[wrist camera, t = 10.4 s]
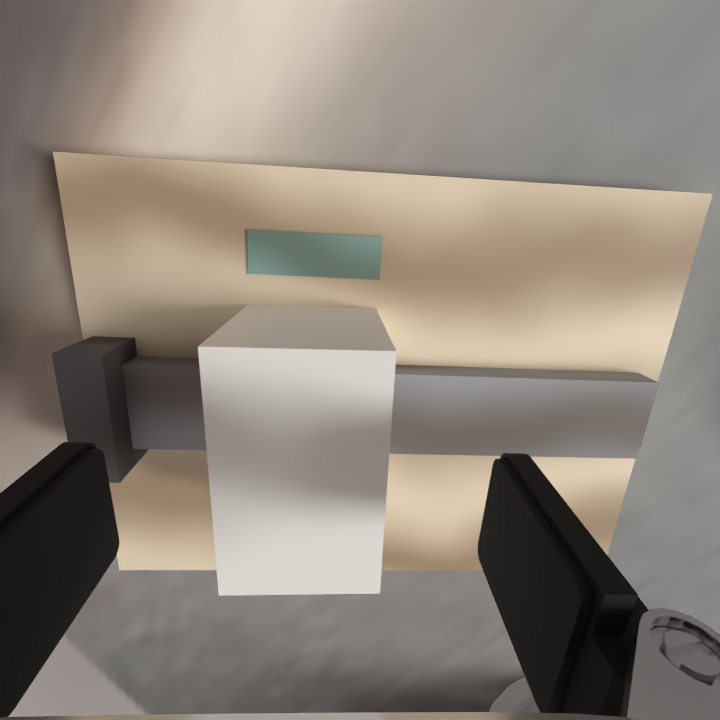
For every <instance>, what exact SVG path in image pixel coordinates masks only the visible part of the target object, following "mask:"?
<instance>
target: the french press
mask: <svg viewBox="0 0 720 720" xmlns="http://www.w3.org/2000/svg"><path fill="white" fill-rule="evenodd" d="M489 712H510V713H541V712H540V711H539V709H538V707H537V705H536V703H535V700H534V698H533V695H532V692H531V690H530V687H529V685H528V682H527V680H526V677H525V676H524V677H523V678H521V679H519V680H517V681H516V682H514V683H512V684H510V685H509V686H508V687H507V688H506V689H505V690H504V691H503V692H502V694H501V695H500V696H499V697H498V698H497V699H496V700H495V701H494V702H493V703H492V705H491V707H490V710H489Z"/></svg>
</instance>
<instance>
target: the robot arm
mask: <svg viewBox="0 0 720 720" xmlns="http://www.w3.org/2000/svg"><path fill="white" fill-rule="evenodd" d="M118 549H119V535H118V529H117V524H116V518H115V513H114V507H113V501H112V496H111V490H110V485H109V479H108V473H107V468H106V462H105V457H104V453H103V451H102V450H100V449H97V447H96V445H95V444H93V443H84V442H64V443H62V444H61V445H59V446H58V447H57V448H56V449H54V450H53V451H52V452H51V453H49V454H48V455H47V456H46V457H45V458H43V459H42V460H41V461H40V462H38V463H37V464H36V465H35V466H33V467H32V468H31V469H30V470H28V471H27V472H26V473H25V474H24V475H22V476H21V477H20V478H19V479H17V480H16V481H15V482H14V483H12V484H11V485H10V486H9V487H8V488H6V489H5V490H4V491H3V492H1V493H0V720H720V635H719V634H718V633H717V632H716V631H714V630H713V629H712V628H710V627H709V626H707V625H705V624H704V623H702V622H700V621H698V620H697V619H695V618H693V617H691V616H688V615H686V614H683V613H681V612H678V611H674V610H669V609H664V608H659V609H651V610H648V609H647V608H646V606H645V605H644V604H643V602H642V601H641V600H640V599H639V597H638V594H637V593H636V592H635V590H634V589H633V588H632V587H631V585H630V584H629V583H628V581H627V580H626V579H625V578H624V576H623V575H622V574H621V572H620V571H619V570H618V569H617V567H616V566H615V565H614V563H613V562H612V561H611V560H610V558H609V557H608V556H607V554H606V553H605V552H604V551H603V549H602V548H601V547H600V545H599V544H598V543H597V542H596V540H595V539H594V538H593V536H592V535H591V534H590V533H589V531H588V530H587V529H586V527H585V526H584V525H583V524H582V522H581V521H580V520H579V518H578V517H577V516H576V515H575V513H574V512H573V511H572V509H571V508H570V507H569V506H568V504H567V503H566V502H565V500H564V499H563V498H562V497H561V495H560V494H559V493H558V491H557V490H556V489H555V488H554V486H553V485H552V484H551V482H550V481H549V480H548V479H547V477H546V476H545V475H544V473H543V472H542V471H541V470H540V468H539V467H538V466H537V465H536V463H535V462H534V461H533V459H532V458H531V457H530V456H529V455H528V454H523V453H503V454H502V455H501V457H500V459H495V460H494V462H493V466H492V471H491V477H490V482H489V487H488V493H487V498H486V503H485V509H484V514H483V519H482V525H481V530H480V535H479V540H478V557H479V561H480V564H481V566H482V569H483V571H484V574H485V576H486V579H487V581H488V584H489V586H490V589H491V591H492V594H493V596H494V599H495V602H496V604H497V607H498V609H499V612H500V614H501V617H502V619H503V622H504V624H505V627H506V629H507V632H508V634H509V637H510V639H511V642H512V644H513V647H514V650H515V652H516V655H517V657H518V660H519V662H520V665H521V667H522V670H523V672H524V675H525V677H526V680H527V682H528V685H529V687H530V690H531V692H532V695H533V698H534V700H535V703H536V705H537V707H538V709H539V711H540V712H541V713H510V712H385V713H256V714H168V715H103V716H49V717H48V716H47V717H46V716H45V717H8V716H9V715H10V714H11V713H12V711H13V710H14V709H15V707H16V706H17V704H18V703H19V701H20V699H21V698H22V697H23V695H24V694H25V692H26V690H27V689H28V688H29V686H30V685H31V683H32V682H33V680H34V678H35V677H36V675H37V674H38V673H39V671H40V670H41V668H42V667H43V665H44V663H45V662H46V661H47V659H48V658H49V656H50V655H51V653H52V652H53V650H54V649H55V647H56V645H57V644H58V643H59V641H60V640H61V638H62V637H63V635H64V634H65V632H66V631H67V629H68V628H69V626H70V625H71V623H72V622H73V620H74V619H75V617H76V616H77V614H78V613H79V611H80V609H81V608H82V606H83V605H84V603H85V602H86V600H87V599H88V597H89V596H90V594H91V593H92V591H93V590H94V588H95V587H96V585H97V584H98V582H99V581H100V579H101V578H102V576H103V575H104V573H105V572H106V570H107V569H108V567H109V566H110V564H111V563H112V561H113V560H114V558H115V557H116V555H117V552H118Z"/></svg>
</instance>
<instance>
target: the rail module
mask: <svg viewBox="0 0 720 720" xmlns="http://www.w3.org/2000/svg"><path fill="white" fill-rule="evenodd" d="M396 352H397V351H396V349H395V347H394V345H393V343H392V341H391V339H390V337H389V334H388V332H387V330H386V328H385V326H384V324H383V322H382V320H381V318H380V316H379V314H378V311H377V309H376V308H352V307H318V306H284V305H250V304H248V305H247V306H246V307H245V308H243V309H242V310H241V311H240V312H239V313H237V314H236V315H235V316H234V317H233V318H231V319H230V320H229V321H228V322H227V323H225V324H224V325H223V326H222V327H221V328H219V329H218V330H217V331H216V332H215V333H213V334H212V335H211V336H210V337H209V338H207V339H206V340H205V341H204V342H203V343H201V344H200V345H199V346H198V355H199V367H200V379H201V391H202V403H203V414H204V426H205V438H206V450H207V461H208V473H209V485H210V497H211V509H212V520H213V532H214V544H215V556H216V568H217V579H218V591H219V595H296V594H372V593H380V583H381V568H382V554H383V539H384V525H385V511H386V496H387V482H388V467H389V453H390V438H391V424H392V409H393V395H394V380H395V366H396Z"/></svg>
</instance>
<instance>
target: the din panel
mask: <svg viewBox="0 0 720 720" xmlns="http://www.w3.org/2000/svg"><path fill="white" fill-rule="evenodd" d="M53 156H54V162H55V168H56V174H57V181H58V187H59V193H60V200H61V206H62V212H63V218H64V225H65V231H66V237H67V244H68V250H69V256H70V262H71V269H72V275H73V281H74V288H75V294H76V300H77V306H78V313H79V319H80V325H81V332H82V338H83V341H81V342H78V343H76V344H74V345H71V346H69V347H67V348H64V349H62V350H60V351H58V352H55V353H53V354H52V358H53V363H54V368H55V374H56V379H57V385H58V390H59V396H60V401H61V406H62V412H63V417H64V423H65V428H66V433H67V439H68V442H84V443H93V444H95V445H96V447H97V449H100V450H102V451H103V453H104V457H105V462H106V468H107V473H108V479H109V485H110V490H111V496H112V501H113V507H114V513H115V518H116V524H117V529H118V535H119V549H118V552H117V558H118V564H119V570H217V568H216V556H215V544H214V532H213V520H212V509H211V497H210V485H209V473H208V461H207V450H206V438H205V426H204V414H203V403H202V391H201V379H200V367H199V355H198V346H199V345H200V344H201V343H203V342H204V341H205V340H206V339H207V338H209V337H210V336H211V335H212V334H213V333H215V332H216V331H217V330H218V329H219V328H221V327H222V326H223V325H224V324H225V323H227V322H228V321H229V320H230V319H231V318H233V317H234V316H235V315H236V314H237V313H239V312H240V311H241V310H242V309H243V308H245V307H246V306H247V305H248V304H250V305H284V306H318V307H352V308H376V309H377V311H378V314H379V316H380V318H381V320H382V322H383V324H384V326H385V328H386V330H387V332H388V334H389V337H390V339H391V341H392V343H393V345H394V347H395V349H396V351H397V352H396V366H395V380H394V395H393V409H392V424H391V438H390V453H389V467H388V482H387V496H386V511H385V525H384V539H383V554H382V568H381V570H483V569H482V566H481V564H480V561H479V557H478V540H479V535H480V530H481V525H482V519H483V514H484V509H485V503H486V498H487V493H488V487H489V482H490V477H491V471H492V466H493V462H494V460H495V459H500V457H501V455H502V454H503V453H523V454H528V455H529V456H530V457H531V458H532V459H533V461H534V462H535V463H536V465H537V466H538V467H539V468H540V470H541V471H542V472H543V473H544V475H545V476H546V477H547V479H548V480H549V481H550V482H551V484H552V485H553V486H554V488H555V489H556V490H557V491H558V493H559V494H560V495H561V497H562V498H563V499H564V500H565V502H566V503H567V504H568V506H569V507H570V508H571V509H572V511H573V512H574V513H575V515H576V516H577V517H578V518H579V520H580V521H581V522H582V524H583V525H584V526H585V527H586V529H587V530H588V531H589V533H590V534H591V535H592V536H593V538H594V539H595V540H596V542H597V543H598V544H599V545H600V547H601V548H602V549H603V551H604V552H605V553H606V554H608V551H609V547H610V544H611V541H612V537H613V534H614V530H615V527H616V523H617V520H618V517H619V513H620V510H621V506H622V503H623V500H624V496H625V493H626V489H627V486H628V482H629V479H630V476H631V472H632V469H633V465H634V462H635V459H637V456H638V453H639V450H640V446H641V443H642V439H643V436H644V433H645V429H646V426H647V422H648V419H649V416H650V412H651V409H652V405H653V402H654V398H655V395H656V392H657V388H658V385H659V382H658V380H659V376H660V373H661V369H662V366H663V363H664V359H665V356H666V352H667V349H668V345H669V342H670V339H671V335H672V332H673V328H674V325H675V321H676V318H677V315H678V311H679V308H680V304H681V301H682V297H683V294H684V291H685V287H686V284H687V280H688V277H689V274H690V270H691V267H692V263H693V260H694V256H695V253H696V250H697V246H698V243H699V239H700V236H701V232H702V229H703V226H704V222H705V219H706V215H707V212H708V208H709V205H710V202H711V198H712V195H713V194H705V193H689V192H674V191H658V190H642V189H627V188H611V187H596V186H580V185H564V184H549V183H533V182H518V181H502V180H486V179H471V178H455V177H440V176H424V175H408V174H393V173H377V172H362V171H346V170H330V169H315V168H299V167H284V166H268V165H252V164H237V163H221V162H206V161H190V160H174V159H159V158H143V157H128V156H112V155H96V154H81V153H65V152H53Z"/></svg>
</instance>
